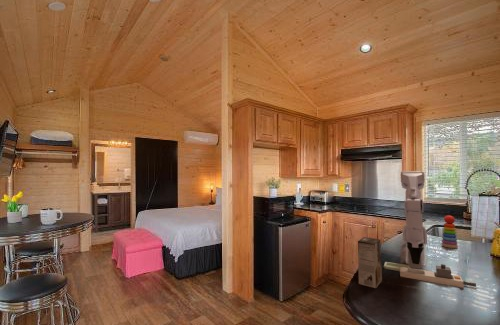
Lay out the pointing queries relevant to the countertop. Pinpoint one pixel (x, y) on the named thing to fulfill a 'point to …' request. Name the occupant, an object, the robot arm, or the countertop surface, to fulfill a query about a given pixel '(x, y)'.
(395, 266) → the tray
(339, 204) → the countertop surface
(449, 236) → the stacking toy
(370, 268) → the coffee box
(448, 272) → the seated twin plug
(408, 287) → the countertop surface
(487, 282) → the countertop surface
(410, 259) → the plug
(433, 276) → the power strip
